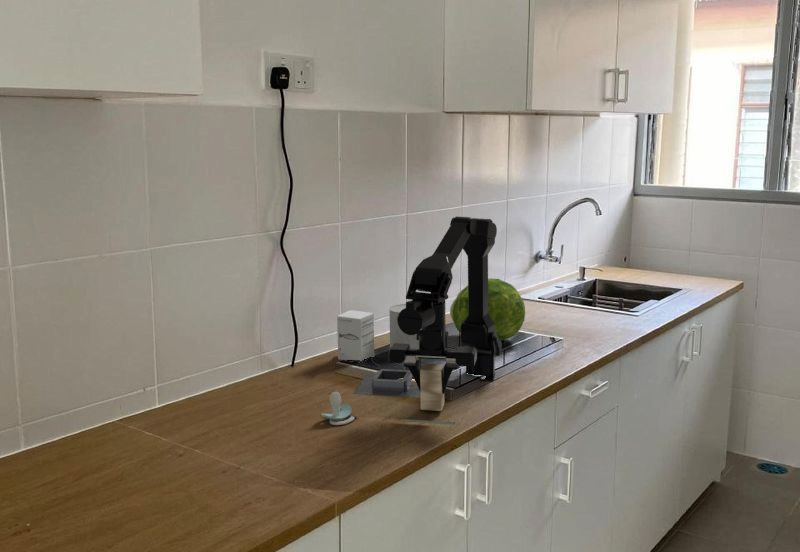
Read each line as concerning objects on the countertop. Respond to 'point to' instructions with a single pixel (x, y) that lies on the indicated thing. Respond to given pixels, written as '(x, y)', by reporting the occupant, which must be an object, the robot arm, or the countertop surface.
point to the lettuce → (494, 308)
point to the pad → (428, 421)
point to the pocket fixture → (388, 384)
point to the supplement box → (355, 335)
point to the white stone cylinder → (396, 332)
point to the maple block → (431, 387)
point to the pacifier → (338, 411)
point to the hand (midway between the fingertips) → (432, 392)
